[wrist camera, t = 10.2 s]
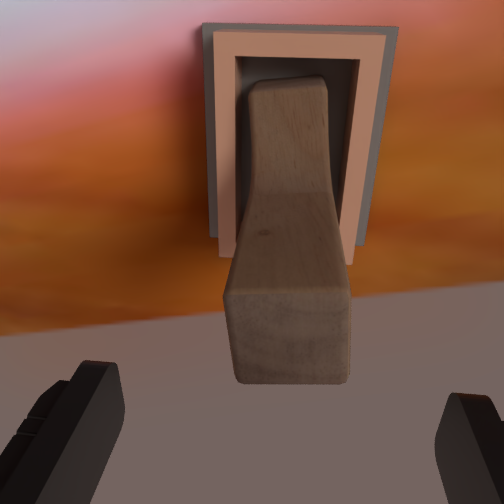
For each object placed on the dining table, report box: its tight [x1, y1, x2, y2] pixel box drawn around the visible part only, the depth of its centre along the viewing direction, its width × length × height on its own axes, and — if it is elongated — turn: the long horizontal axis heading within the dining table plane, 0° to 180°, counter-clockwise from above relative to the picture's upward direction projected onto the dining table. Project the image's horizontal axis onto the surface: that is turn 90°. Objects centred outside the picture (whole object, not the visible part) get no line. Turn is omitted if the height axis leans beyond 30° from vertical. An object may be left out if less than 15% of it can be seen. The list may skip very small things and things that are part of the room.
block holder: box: [202, 23, 399, 265], centre depth 29 cm, size 12×15×4 cm
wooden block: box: [223, 75, 351, 384], centre depth 23 cm, size 9×4×18 cm, turn 5°
